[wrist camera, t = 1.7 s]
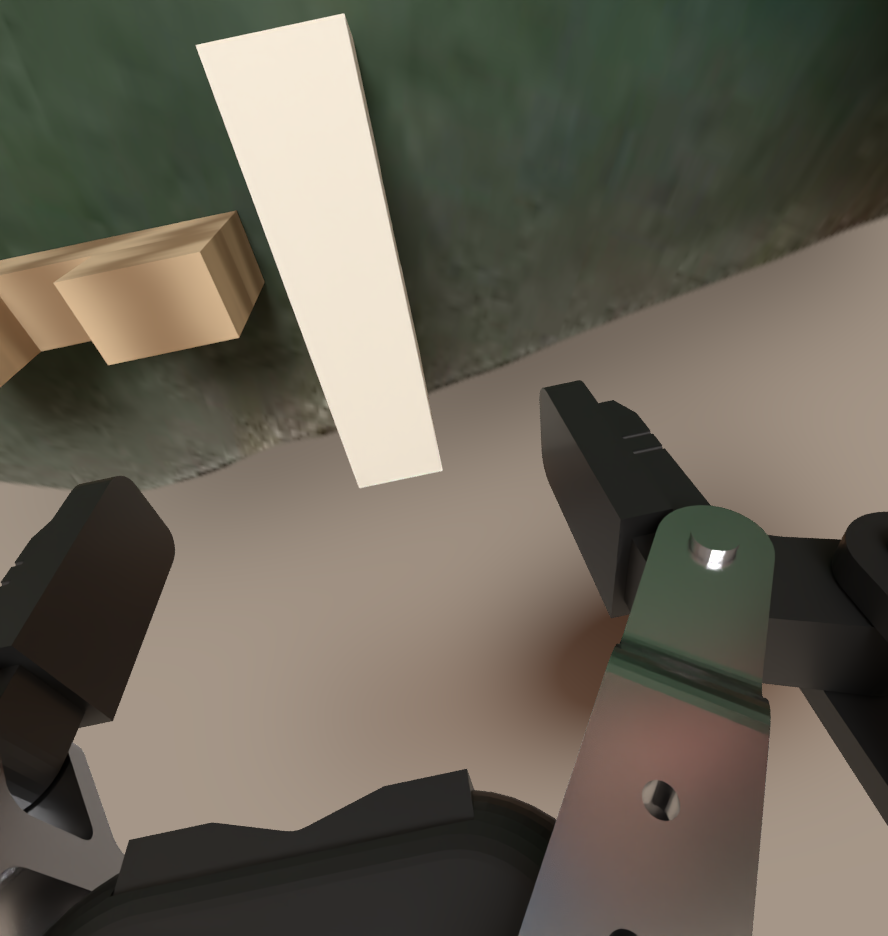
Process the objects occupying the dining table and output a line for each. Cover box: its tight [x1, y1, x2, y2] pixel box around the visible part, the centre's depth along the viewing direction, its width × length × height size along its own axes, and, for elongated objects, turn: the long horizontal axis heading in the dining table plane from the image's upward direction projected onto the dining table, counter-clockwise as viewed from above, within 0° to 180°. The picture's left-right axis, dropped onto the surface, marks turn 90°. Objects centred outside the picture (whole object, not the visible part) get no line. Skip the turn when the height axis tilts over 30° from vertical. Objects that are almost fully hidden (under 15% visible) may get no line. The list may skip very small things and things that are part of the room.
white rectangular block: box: [196, 14, 443, 488], centre depth 21 cm, size 14×4×12 cm, turn 10°
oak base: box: [0, 210, 265, 387], centre depth 23 cm, size 16×4×7 cm, turn 100°
